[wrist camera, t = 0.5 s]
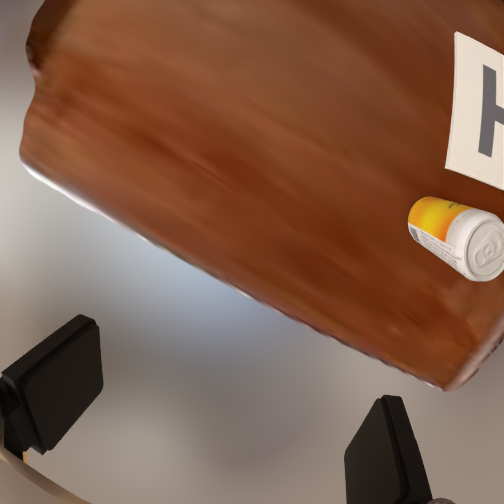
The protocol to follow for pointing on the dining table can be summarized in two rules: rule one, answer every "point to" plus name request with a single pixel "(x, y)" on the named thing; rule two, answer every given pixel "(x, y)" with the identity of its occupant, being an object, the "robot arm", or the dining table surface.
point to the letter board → (477, 113)
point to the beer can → (460, 236)
